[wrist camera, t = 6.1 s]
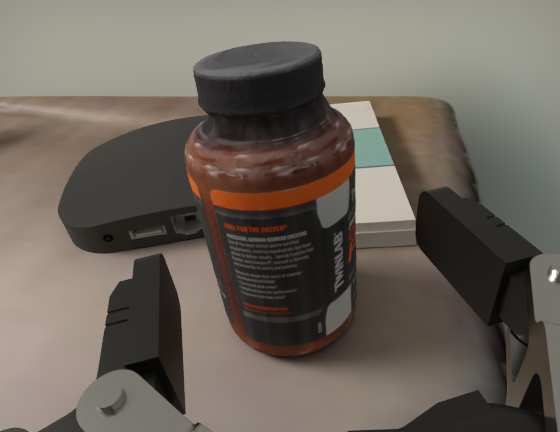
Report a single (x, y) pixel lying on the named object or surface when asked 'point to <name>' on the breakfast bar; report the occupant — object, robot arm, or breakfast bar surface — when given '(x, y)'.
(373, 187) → the key strip
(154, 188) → the media streaming box
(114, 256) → the breakfast bar surface
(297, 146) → the supplement bottle
